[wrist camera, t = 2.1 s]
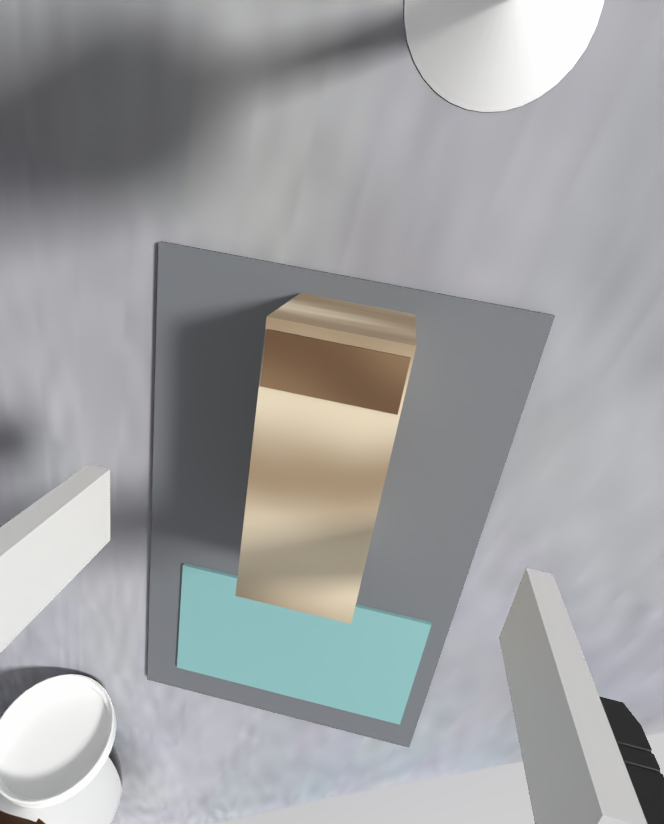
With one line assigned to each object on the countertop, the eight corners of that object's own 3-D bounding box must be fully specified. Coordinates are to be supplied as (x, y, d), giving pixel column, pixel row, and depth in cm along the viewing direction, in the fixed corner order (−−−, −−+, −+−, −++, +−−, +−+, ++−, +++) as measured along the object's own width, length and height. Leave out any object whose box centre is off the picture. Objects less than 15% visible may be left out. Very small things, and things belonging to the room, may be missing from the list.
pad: (178, 664, 31) (176, 667, 31) (184, 563, 28) (182, 565, 28) (399, 721, 30) (399, 724, 30) (431, 622, 27) (431, 625, 27)
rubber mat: (149, 675, 32) (147, 679, 32) (161, 241, 22) (158, 241, 22) (408, 742, 31) (408, 747, 31) (552, 314, 21) (554, 315, 20)
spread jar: (34, 776, 39) (-112, 993, 28) (-31, 666, 35) (-228, 867, 24) (174, 779, 36) (73, 1018, 25) (120, 660, 32) (-25, 882, 22)
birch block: (363, 543, 26) (350, 626, 21) (269, 522, 26) (234, 598, 21) (415, 314, 21) (416, 347, 16) (300, 292, 22) (265, 317, 16)
